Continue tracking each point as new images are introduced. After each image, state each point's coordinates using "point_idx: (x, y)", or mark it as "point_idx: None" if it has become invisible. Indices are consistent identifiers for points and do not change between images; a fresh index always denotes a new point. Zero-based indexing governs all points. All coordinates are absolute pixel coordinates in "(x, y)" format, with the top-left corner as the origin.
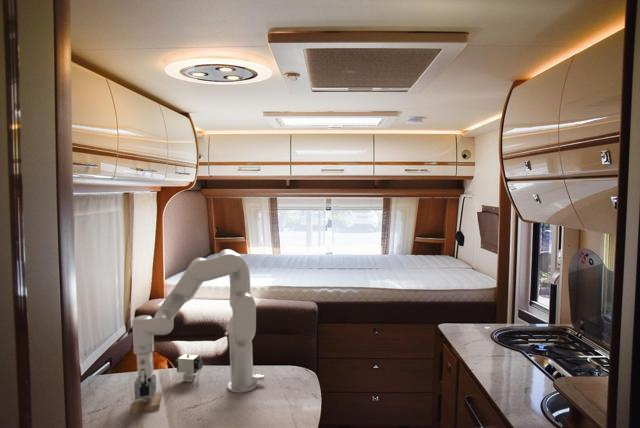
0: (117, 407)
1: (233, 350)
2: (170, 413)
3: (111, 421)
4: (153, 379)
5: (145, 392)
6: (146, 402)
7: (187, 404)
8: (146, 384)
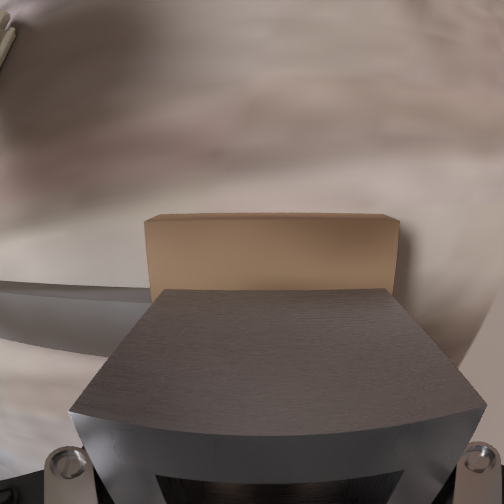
0: None
1: None
2: (466, 130)
3: None
4: (366, 442)
5: None
6: None
7: (370, 2)
8: (493, 470)
